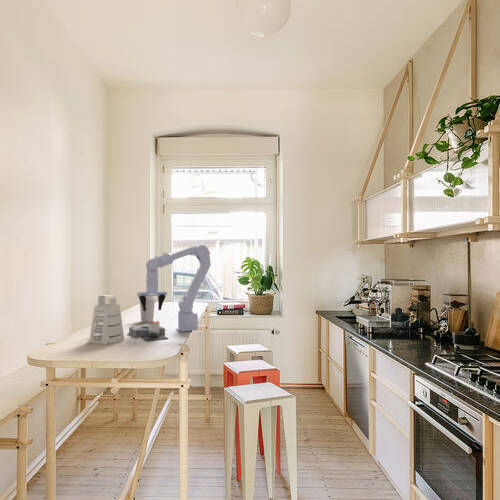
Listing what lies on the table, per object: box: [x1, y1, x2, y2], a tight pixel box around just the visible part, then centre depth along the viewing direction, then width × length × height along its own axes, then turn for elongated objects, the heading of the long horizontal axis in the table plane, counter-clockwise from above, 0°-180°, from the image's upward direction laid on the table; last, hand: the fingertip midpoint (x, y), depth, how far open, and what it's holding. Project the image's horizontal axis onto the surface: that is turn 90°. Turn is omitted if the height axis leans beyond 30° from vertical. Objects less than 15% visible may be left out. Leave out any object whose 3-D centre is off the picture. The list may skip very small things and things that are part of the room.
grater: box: [88, 294, 125, 345], centre depth 185 cm, size 10×10×20 cm
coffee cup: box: [139, 296, 157, 323], centre depth 240 cm, size 10×10×15 cm
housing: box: [128, 324, 166, 338], centre depth 202 cm, size 14×12×3 cm
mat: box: [140, 335, 169, 342], centre depth 191 cm, size 10×10×1 cm
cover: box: [148, 320, 160, 338], centre depth 192 cm, size 5×5×7 cm
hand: (152, 310), depth 208 cm, fingers open, 7 cm apart
